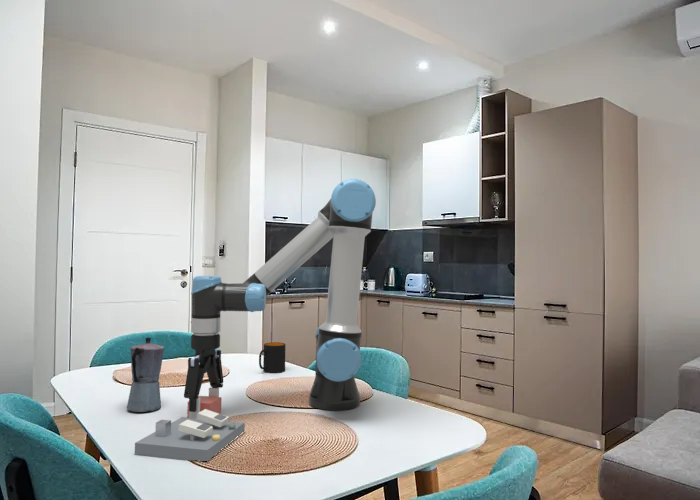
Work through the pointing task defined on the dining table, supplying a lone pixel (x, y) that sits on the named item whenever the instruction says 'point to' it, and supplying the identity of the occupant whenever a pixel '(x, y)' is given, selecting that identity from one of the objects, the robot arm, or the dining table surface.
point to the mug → (273, 358)
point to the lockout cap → (208, 404)
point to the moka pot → (145, 377)
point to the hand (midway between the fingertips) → (204, 417)
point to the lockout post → (163, 428)
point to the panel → (189, 442)
